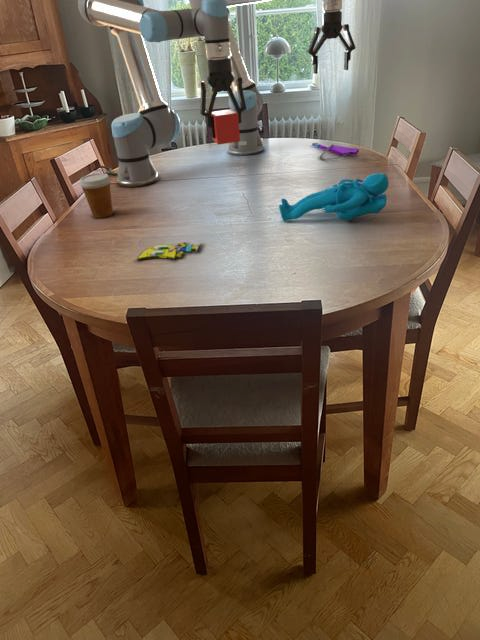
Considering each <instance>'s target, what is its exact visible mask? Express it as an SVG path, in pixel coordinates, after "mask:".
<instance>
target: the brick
mask: <svg viewBox="0 0 480 640" xmlns="http://www.w3.org/2000/svg"><path fill="white" fill-rule="evenodd" d="M211 116H213V118H214V128H215V138H212V137H211V140H212V141H213V142H215V144H217V145H225V144H229V143H233V142H240V134H239V120H238V113H237V112H235V111H234V110H232V109H229V108H228V109H222V110H212V114H211Z"/></svg>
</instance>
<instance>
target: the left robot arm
mask: <svg viewBox="0 0 480 640" xmlns="http://www.w3.org/2000/svg"><path fill="white" fill-rule="evenodd" d="M77 7H78V11H79V14H80V15H81V17H82V18H83V20H84V21H85V22H86V23H88V24H91V25H93V26H96V27H105V26H108V27H109V29H110V33H111V34H112V35H114V36H115V37H116V38H117V40H118V43H119V46H120V49H121V53H122V55H123V59H124V61H125V65H126V68H127V71H128V75H129V77H130V80H131V83H132V86H133V89H134V92H135V96H136V99H137V102H138V104H139V109H138V111H137V112H132V113H128V114H127V113H126V114H122V115H121V116H117V117H115V118H114V119H113V120H112V122H111V132H112V133H111V135H112V138H113V141H114V146H115V151H116V155H117V160H118V167H117V168H118V170H117V172H111V171H112V168H111V167H108V166H104V165H96V166H95V167H94V169H93V170H94V171H97V170H98V169H105V170H107V171H106V173H105V174H107V175H108V176H117V179H116V180H117V183H118V186H120V187H123V188H124V187H125V188H136V187H137V188H138V187H145V186H147V185H148V186H149V185H151V184H154V183H156V182H157V181H158V180H159V176H158V172H157V169H156V168H155V166H154V163H153V161H152V159H151V156H150V151H149V150H150V149H154V148H157V147H161V146H165V145H168V144H170V143H173V142H175V141H176V140H177V139H178V137H179V135H180V132H181V122H180V117H179V116H178V113H176V112H175V111H174V110H173V109H170V108H169V104H168V103H167V102H166V101H164V100H163V98H162V96H161V92H160V89H159V85H158V82H157V79H156V76H155V73H154V69H153V66H152V63H151V60H150V56H149V53H148V50H147V48H146V44H145V41H146V42H148V43H161V42H167V41H174V40H180V39H181V40H182V39H190V38H200V37H204V44H205V57H206V59H207V61H206V67H207V78H206V79H204V80H200V81H199V82H198V84H199V88H200V104H199V105H200V107H199V109H200V110H199V113H200V115H201V116H203V117H206V125H207V127H208V128H210V133H211V134H210V136H211V139H212V138H215V128H214V118H213V116H211V114H212V112H213V111H214V110H213V109H214V106H215V103H216V99H217V95H218V93H221V92H226V93H227V95H228V98H229V97H230V99H231V102H232V104H233V106H234V108H235V110H236V112H237V113H238V120H239V123H241V113H242V111H244V110H246V104H245V99H244V94H243V89H242V78H241V77H234V76H233V74H232V65H231V59H230V58H229V56H230V55H231V52H230V39H229V26H228V21H229V17H228V11H227V4H226V0H202V2H201V8H191V7H189V8H187V7H186V8H182V9H181V8H180V9H171V10H159V9H154V8H150V7H147V6H145V3H144V0H77ZM144 40H145V41H144ZM233 80H234V81H235V84H236V87H237V92H238V96H239V101H240V106H241V107H239V105H238V103H237V101H236V98H235V96H234V94H233V91H232V89H231V88H232V87H231V84H232V82H233ZM208 85H209V86H210V87H211V91H210V96H209V100H208V103H207V88H208ZM206 103H207V104H206ZM206 105H207V106H206Z"/></svg>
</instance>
